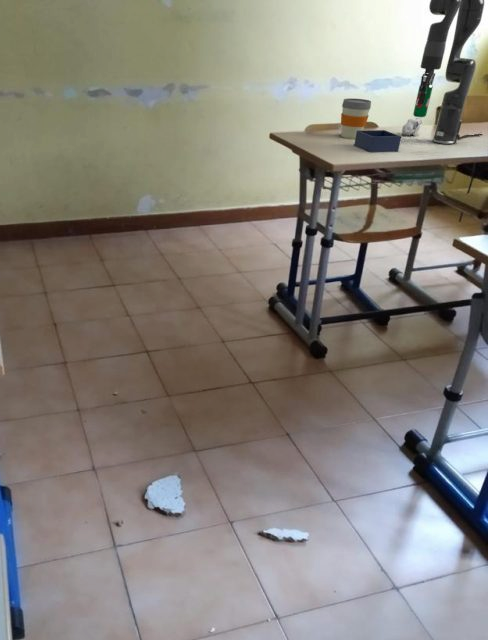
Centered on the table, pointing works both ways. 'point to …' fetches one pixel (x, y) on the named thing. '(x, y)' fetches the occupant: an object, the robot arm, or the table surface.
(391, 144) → the tote
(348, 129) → the reusable coffee cup
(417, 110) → the soda can
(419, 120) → the skull
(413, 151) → the table surface
